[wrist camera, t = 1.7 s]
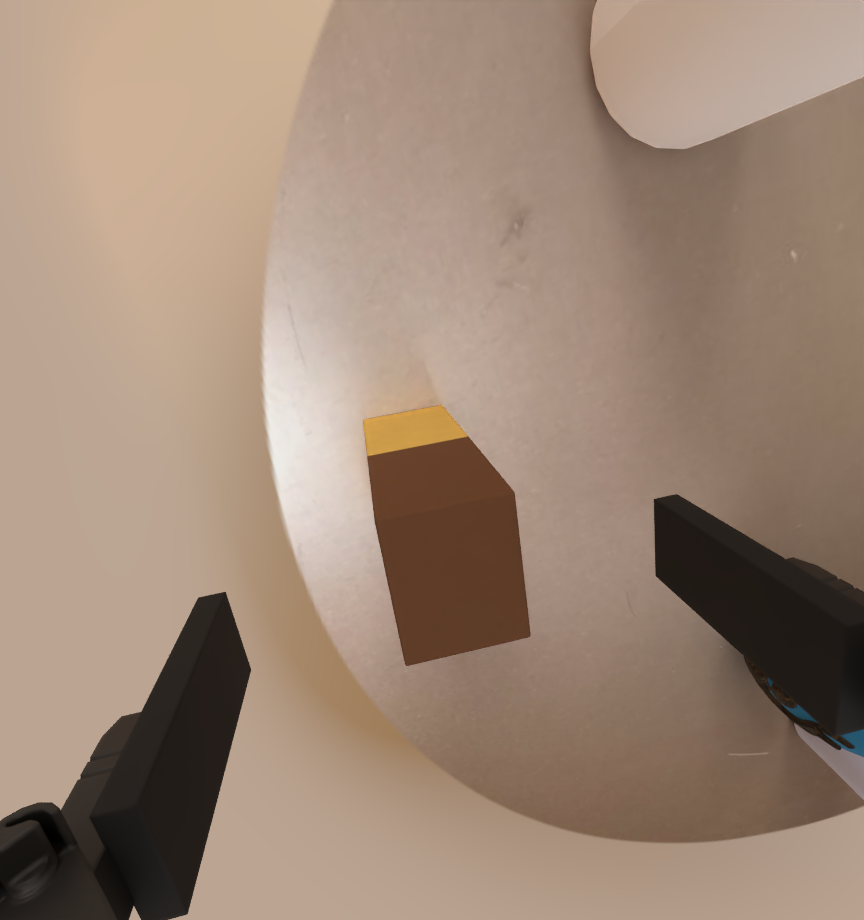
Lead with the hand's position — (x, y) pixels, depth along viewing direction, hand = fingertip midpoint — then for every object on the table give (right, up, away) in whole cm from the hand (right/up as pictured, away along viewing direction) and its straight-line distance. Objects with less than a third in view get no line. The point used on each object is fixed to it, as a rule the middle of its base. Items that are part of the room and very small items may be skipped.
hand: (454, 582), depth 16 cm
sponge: (-2, +4, +11) cm, 12 cm away
